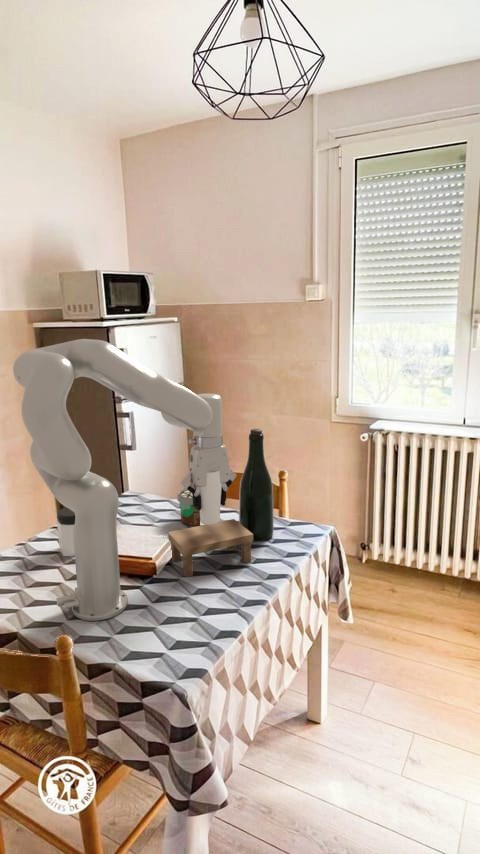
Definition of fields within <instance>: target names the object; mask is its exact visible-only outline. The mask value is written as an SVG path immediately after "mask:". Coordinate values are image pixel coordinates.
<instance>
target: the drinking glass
mask: <svg viewBox="0 0 480 854" xmlns="http://www.w3.org/2000/svg"><path fill="white" fill-rule="evenodd" d="M219 473H220V471H216V472H208V473H207V485H206V486H204V487H201V490H200V492H199V495H200V496H201V510H200V524H201V525H215V524H217V523H219V522H221V506H222V505H221V491H222V484H221V483H220V474H219Z"/></svg>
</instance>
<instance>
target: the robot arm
mask: <svg viewBox="0 0 480 854" xmlns="http://www.w3.org/2000/svg"><path fill="white" fill-rule="evenodd" d="M12 368H13V369H12V372H13V376H14V379H15V381H17V383H18V384H19V385H20V386H21V387H22V388H24V393H23V397H22V403H21V418H22V421H23V424H24V426H25V428H26V430H27V432H28V433H29V435H30V437H31V439H32V442H31V445H30V451H29V454H30V459H31V461H32V464H33V466H34V468H35V470H36V471H37V472H38V474H39V475H40V477H41V479H42V480H43V481H44V483H45V484H46V486H47V488H48V489H49V491H50V493H52V495H53V497H54V498H55V499H56V500H57V501H58V502H59V503H60V505H62V506H64V508H66V507H67V508H69V509H70V510H72V511H73V512H74V513H75V525H74V530H73V544H74V553H75V556H74V562H75V576H76V585H77V586H76V587H74V592H72V593H70V595H69V594H68V595H66V596H65V595H62V596H59V597H55V598H56V606H57V607H61V606H63V609H64V610H67V609H71V612H72V614H73V615H74V617H76V618H78V619H81V620H83V621H88V622H89V621H93V622H94V621H95V622H96V621H104V620H108V619H110V618H113V617H115V616H117V615H119V614H121V613H122V612H123V611H124V610H125V609H126V608H127V606H128V604H129V597H128V595H127V593H126V592H125V591H123V590H122V589H121V579H120V578H121V577H120V563H119V561H120V560H119V546H118V533H117V532H118V530H117V519H118V517H117V516H118V509H119V494H118V491H117V489H116V487H115V486H114V484H113V483H112V482H111V481H110V480H108V479H107V478H105V477H103V476H101V475H98V474H97V473H94V472H92V471H90V470H91V467H92V456H91V455H92V454H91V452H90V449H89V448H88V446H87V445H86V443H85V442H84V439H83V438H82V436H81V435H80V433H79V432H78V430H77V428H76V426H75V424H74V423H73V421H72V419H71V417H70V415H69V412H68V410H67V400H68V399H67V398H68V395H69V392H70V390H71V388H72V385H73V383H74V380H75V379H78V378H81V377H83V378H88V379H92V380H94V381H95V382H97V383H99V384H101V385H102V386H104V387H106V388H108V389H109V390H112V391H113V392H115V393H116V394H118V395H120V396H121V397H123V398H124V399H125V400H126V399H127V400H128V401H130V402H131V403H133V404H136V405H140V406H141V407H143V408H147V409H151V410H154V411H157V412H160V414H161V417H162V419H163V420H164V421H165V422H166V423H168V424H169V425H171V426H174V427H175V426H176V427H178V428H183V429H187V430H189V431H193V435H192V438H191V439H188V444H189V445H193V446H191V450H190V454H189V455H190V456H189V467H188V473H187V474H186V475H185V477H184V478H182V480H181V481H180V485H181V486H182V487H183V488H186V489H187V490H188V491H190V492H191V493H192V494H193V506H194V507H195V508H196V509H197V510H201V496H200V495H199V492H200V490H201V487H204V486H206V485H207V473H208V472H216V471H220V473H219V474H220V483H221V484H222V491H221V505H220V506H223V507H224V506H226V501H227V491H228V490H229V487H230V486H231V485H232V483H233V481H234V480H235V479H236V477H237V476H238V475H237V473H235V472H234V470H231V468H230V462H229V454H228V451H227V450H228V449H227V446H226V445H225V444H223V443H224V441H223V400H222V399H223V398H222V397H221V396H220V395H219V394H217V393H199V394H196V393H195V392H193V391H191V390H190V389H188V388H186V387H185V386H182V385H181V384H180V383H177V382H174V381H173V380H171V379H169V378H167V377H166V376H163V375H162V374H161V373H157V372H155V371H153V370H152V369H149V368H148V367H146V366H145V365H144V364H143V363H141V362H139V361H137V360H136V359H134V358H133V357H132V356H130V355H129V354H127V353H126V352H124V351H122V350H121V349H119V348H118V347H117V346H115V345H113V344H112V343H109V342H108V341H105V340H101V339H93V338H92V339H89V338H81V339H80V338H79V339H75V340H69V341H66V342H65V341H64V342H62V343H55V344H53V345H47V346H43V347H42V346H41V347H37V348H33V349H29V350H26V351H23V352H22V353H21V354H20V355H18V357H16V359H15V361H14V363H13V367H12ZM189 482H190V483H192V486H191V485H190V484H189Z"/></svg>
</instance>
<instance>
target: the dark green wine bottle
mask: <svg viewBox="0 0 480 854" xmlns="http://www.w3.org/2000/svg"><path fill="white" fill-rule="evenodd" d="M273 488H274V487H273V480H272V477H271V474H270V472H269V469H268V467H267V463H266V460H265V453H264V433H263V430H262V429H261V428H252V429H250V433H249V434H248V455H247V462H246V465H245V468H244V471H243V473H242V476H241V477H240V483H239V498H238V499H239V503H238V505H239V507H238V523H240V524H241V525H242V526H243V527H245V528H246V529H247V530H249V531H250V532H251V533H252V534H253V541H252V542H260V541H261V542H262V541H265V540H268V539H270V538H272V536H273V535H274V528H275V527H274V525H275V524H274V521H275V520H274V489H273Z"/></svg>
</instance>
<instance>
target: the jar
mask: <svg viewBox="0 0 480 854" xmlns="http://www.w3.org/2000/svg"><path fill="white" fill-rule="evenodd" d="M56 518H57V520H56V523H57V533H58V546H59V551H60V552H61V555H62V556H63V557H75V553H74V544H73V530H74V525H75V513H74V512H73V511H72V510H70V509H69V508H67V507H63V508H61V509H59V510H58V511H57V516H56Z"/></svg>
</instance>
